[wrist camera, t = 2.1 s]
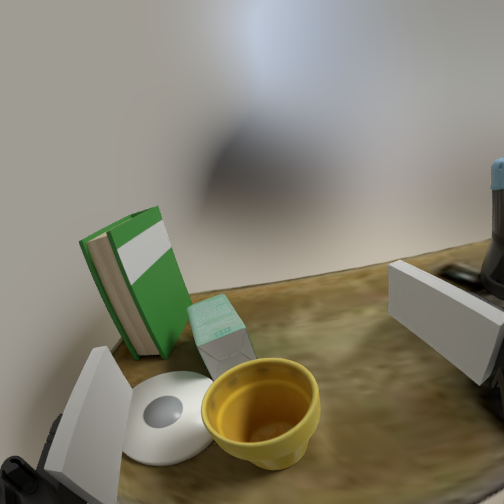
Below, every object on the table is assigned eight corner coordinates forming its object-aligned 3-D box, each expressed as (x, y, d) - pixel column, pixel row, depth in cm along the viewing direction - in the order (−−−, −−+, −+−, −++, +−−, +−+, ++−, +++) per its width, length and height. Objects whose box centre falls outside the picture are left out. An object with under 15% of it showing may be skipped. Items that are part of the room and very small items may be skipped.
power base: (250, 398, 32) (247, 389, 32) (163, 489, 20) (154, 482, 19) (143, 349, 48) (138, 341, 48) (78, 398, 36) (72, 390, 35)
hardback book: (167, 359, 44) (110, 230, 37) (134, 359, 46) (78, 241, 38) (194, 308, 61) (158, 205, 53) (166, 311, 62) (129, 214, 54)
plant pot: (331, 477, 19) (326, 434, 16) (228, 488, 20) (189, 447, 17) (319, 405, 28) (310, 347, 25) (235, 417, 30) (209, 364, 26)
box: (235, 324, 51) (223, 290, 48) (260, 365, 38) (247, 327, 36) (198, 338, 49) (184, 305, 46) (214, 384, 36) (196, 347, 34)
